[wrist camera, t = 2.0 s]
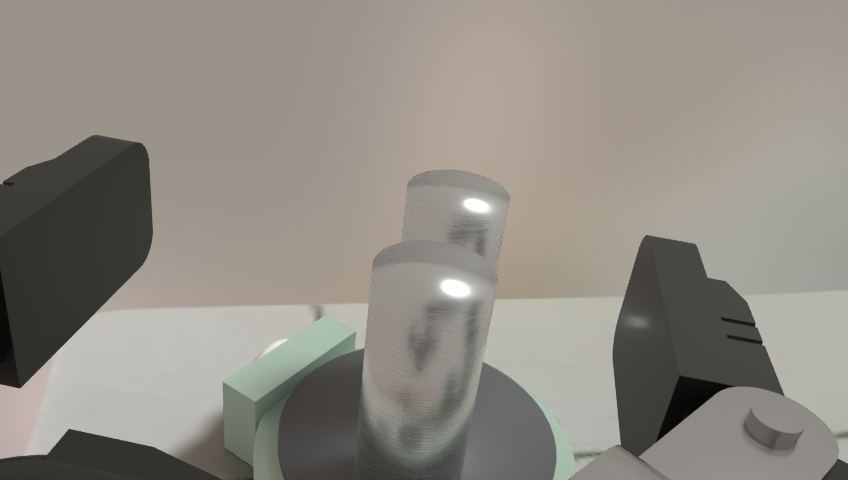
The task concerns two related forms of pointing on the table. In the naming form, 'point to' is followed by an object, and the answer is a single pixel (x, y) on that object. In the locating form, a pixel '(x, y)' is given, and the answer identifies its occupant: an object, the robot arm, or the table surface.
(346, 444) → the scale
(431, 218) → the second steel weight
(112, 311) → the table surface
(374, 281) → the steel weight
